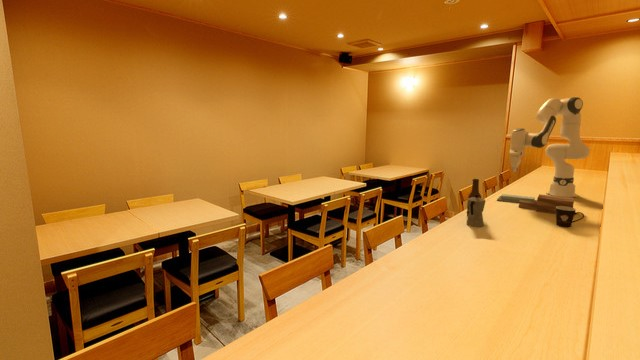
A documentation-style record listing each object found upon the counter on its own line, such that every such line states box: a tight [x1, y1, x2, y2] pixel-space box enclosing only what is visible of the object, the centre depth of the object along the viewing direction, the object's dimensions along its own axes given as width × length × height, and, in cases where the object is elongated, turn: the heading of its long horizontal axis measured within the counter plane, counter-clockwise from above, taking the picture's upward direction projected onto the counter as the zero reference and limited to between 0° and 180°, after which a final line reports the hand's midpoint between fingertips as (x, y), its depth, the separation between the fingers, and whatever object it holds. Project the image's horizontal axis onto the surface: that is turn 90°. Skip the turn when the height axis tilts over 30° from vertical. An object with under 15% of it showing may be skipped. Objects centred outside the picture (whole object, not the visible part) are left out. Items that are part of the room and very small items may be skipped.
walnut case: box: [518, 194, 575, 215], centre depth 199 cm, size 12×28×9 cm, turn 50°
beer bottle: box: [466, 178, 482, 218], centre depth 188 cm, size 8×8×24 cm
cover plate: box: [500, 193, 536, 202], centre depth 222 cm, size 6×20×2 cm, turn 50°
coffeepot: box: [466, 194, 486, 228], centre depth 175 cm, size 15×9×18 cm, turn 137°
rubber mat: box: [496, 195, 537, 204], centre depth 221 cm, size 12×26×1 cm, turn 50°
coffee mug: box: [555, 206, 585, 229], centre depth 169 cm, size 12×9×10 cm
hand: (515, 171), depth 220 cm, fingers open, 8 cm apart
